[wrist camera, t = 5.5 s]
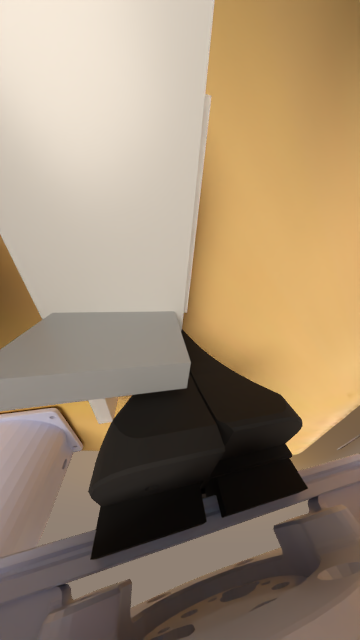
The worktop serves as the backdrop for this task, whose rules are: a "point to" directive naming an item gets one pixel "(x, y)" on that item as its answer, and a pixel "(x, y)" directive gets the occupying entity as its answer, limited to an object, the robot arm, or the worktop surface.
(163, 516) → the robot arm
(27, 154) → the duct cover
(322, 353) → the worktop surface
